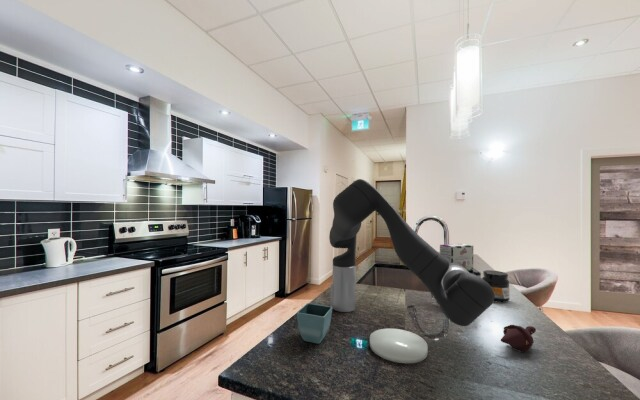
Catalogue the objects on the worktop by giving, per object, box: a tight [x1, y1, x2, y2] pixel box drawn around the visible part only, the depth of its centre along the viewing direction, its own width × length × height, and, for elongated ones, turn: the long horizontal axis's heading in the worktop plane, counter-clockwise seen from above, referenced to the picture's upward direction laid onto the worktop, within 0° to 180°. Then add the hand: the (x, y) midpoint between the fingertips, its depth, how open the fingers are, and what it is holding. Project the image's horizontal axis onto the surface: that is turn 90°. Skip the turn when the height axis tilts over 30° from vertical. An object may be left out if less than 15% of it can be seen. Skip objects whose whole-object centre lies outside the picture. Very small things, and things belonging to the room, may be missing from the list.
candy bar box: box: [439, 243, 474, 289], centre depth 86 cm, size 11×5×16 cm, turn 118°
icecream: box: [500, 324, 537, 353], centre depth 76 cm, size 7×7×15 cm
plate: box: [369, 328, 429, 364], centre depth 76 cm, size 16×16×2 cm
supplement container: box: [481, 269, 511, 303], centre depth 120 cm, size 10×10×12 cm
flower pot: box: [296, 303, 333, 345], centre depth 80 cm, size 9×9×9 cm
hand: (449, 267), depth 84 cm, fingers closed on candy bar box, 6 cm apart
